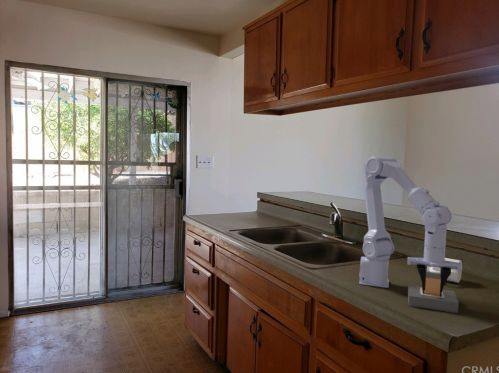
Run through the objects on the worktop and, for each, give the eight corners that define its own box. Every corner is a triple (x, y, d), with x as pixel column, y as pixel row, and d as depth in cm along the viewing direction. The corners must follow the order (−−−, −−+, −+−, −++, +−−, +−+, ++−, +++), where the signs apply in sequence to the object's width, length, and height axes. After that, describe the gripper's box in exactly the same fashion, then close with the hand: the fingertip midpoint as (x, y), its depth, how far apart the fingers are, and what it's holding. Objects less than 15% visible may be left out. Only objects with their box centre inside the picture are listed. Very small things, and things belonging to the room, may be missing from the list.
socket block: (408, 305, 114) (409, 295, 113) (407, 293, 124) (408, 284, 123) (457, 313, 109) (458, 302, 109) (452, 300, 119) (453, 290, 119)
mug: (432, 274, 146) (433, 253, 146) (461, 280, 140) (462, 258, 139) (423, 281, 137) (424, 259, 136) (454, 288, 131) (455, 265, 130)
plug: (424, 297, 115) (426, 275, 115) (423, 293, 119) (425, 271, 118) (439, 299, 114) (440, 276, 113) (438, 295, 118) (439, 273, 117)
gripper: (409, 246, 114) (406, 290, 115) (464, 251, 109) (460, 298, 110) (408, 241, 120) (406, 283, 121) (460, 246, 115) (457, 290, 116)
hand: (432, 290), depth 116 cm, fingers closed on plug, 4 cm apart
